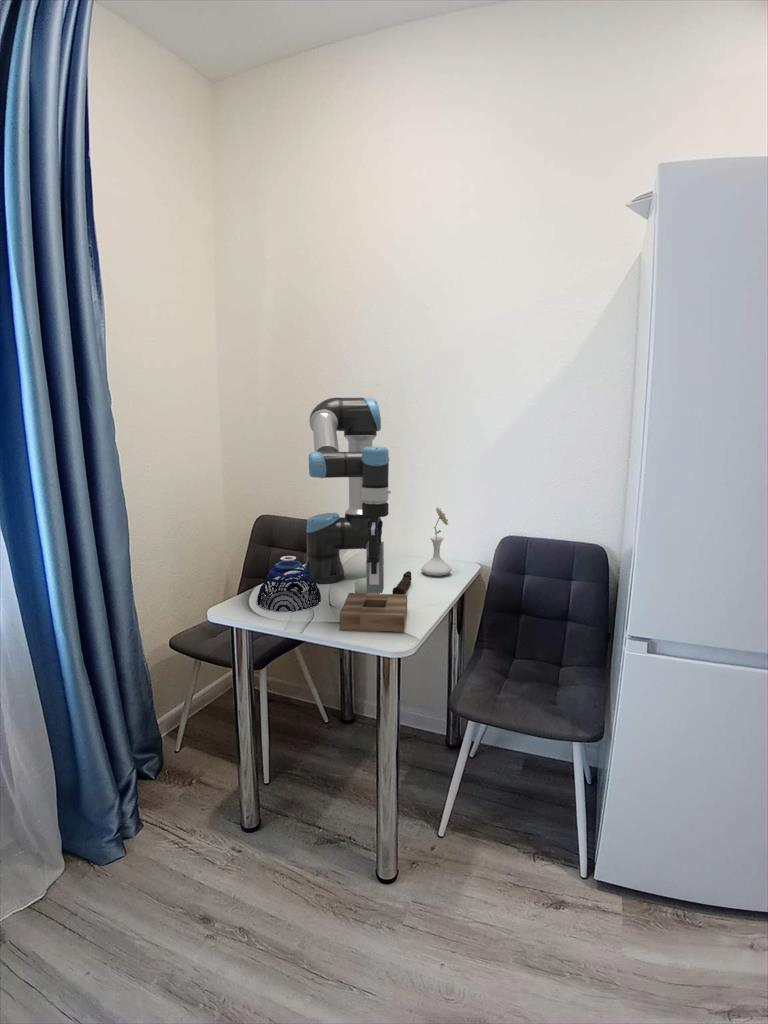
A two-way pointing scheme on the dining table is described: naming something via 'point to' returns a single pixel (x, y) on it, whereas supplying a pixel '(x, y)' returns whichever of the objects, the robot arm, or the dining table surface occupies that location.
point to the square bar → (379, 587)
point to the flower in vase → (437, 554)
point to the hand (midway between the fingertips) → (375, 581)
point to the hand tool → (403, 584)
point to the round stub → (361, 586)
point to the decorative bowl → (289, 586)
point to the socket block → (374, 612)
